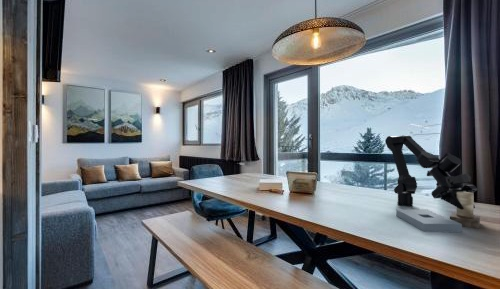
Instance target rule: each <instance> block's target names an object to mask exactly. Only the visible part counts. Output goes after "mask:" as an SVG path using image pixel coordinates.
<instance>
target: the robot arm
mask: <svg viewBox="0 0 500 289" xmlns="http://www.w3.org/2000/svg"><path fill="white" fill-rule="evenodd" d="M384 143H385V144H386V147H387V149H388V150H390V151H391V154H392V157H393V161H394V164H395V166H396V171H397V174H398V177H397V178H398V179H397V181H396V182H397V185H396V187H394V188H393V191H394V193H395V194H397V202H396V203H397V205H398V206H405V207H413V204H414V197H413V196H412V195H415V193H416V190H417V188H418V183H417V179H416V177H415V176H412V175H410V171H409V169H408V166H407V162H406V160H405V157H404V152H403V147H404V146H405V147H406V148H407V149H408V150H409V151H410V152H411V153H412V154H413V155H414V156H415V158H416V161H417V163H418V164H419V165H420V167H421V168H423V169H430V170H427V173H426V176H427V177H432V178H433V179H434V180H435V181H436V186H437V187H436V188H434V189H433V190H432V191H431V197H432V198H433V199H440V200H442V201H445V202H446V203H448V204H449V205H452V206H454V207H455V208H456V209H457V208H459V209H461V210H463V209H464V208H463V206H462V205H461V203H460V202H459V200H458V199H457V195H456V194H457V192H458V191H462V192H470V193H475V192H476V191H477V190H478V189H479V188H477V186H476V185H474V184H468V183H470V182H471V180H472V176H470V174H468V173H463V174H459V175H455V176H454V175H450V174H449V173H452V172H453V171H455V170H456V169H457V168H458V167H459V166H460V165H461V164H462V160H461V158H459V157H458V156H456V155H453V154H451V152H447V153H444V154H443V156H442V157H441V158H439V157H438V156H437V155H436V154H435V155H434V154H433V153H431V152H428V151H427V150H425V149H424V148H423V147H422V146H421V145H420V144H419V143H418V142H417V141H416V140H414V139H413V137H412V136H411V135H406V134H405V135H389V136H387V137H386V138H385V142H384ZM463 184H465V185H464V186H463ZM475 208H476V207H475V205H474V209H475Z"/></svg>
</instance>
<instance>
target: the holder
mask: <svg viewBox="0 0 500 289" xmlns="http://www.w3.org/2000/svg"><path fill="white" fill-rule="evenodd" d="M456 213H457V211H452V212H451V214H450V215H449V219H451V220H453V221H456V222H458V223H460V224H462V227H467V228H473V229H477V230H478V229H480V225H481V215H476V214H475V215H474V217H473V218H464V217H460V216H457V215H456Z"/></svg>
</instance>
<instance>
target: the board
mask: <svg viewBox="0 0 500 289" xmlns="http://www.w3.org/2000/svg"><path fill="white" fill-rule="evenodd" d="M395 214H396V217H397V218H400V219H402V220H403V221H404V222H407V224H408V223H409V224H410V225H412V226H414V227H415V228H417V229H419V230H421V231H422V232H431V233H432V232H437V233H438V232H441V233H445V232H446V233H447V232H449V233H451V232H452V233H455V232H456V233H457V232H458V233H462V232H463V226H462V224H460V223H458V222H456V221H453V220H451V219H450V217H449V218H448V217H446V216H444V215H442V214H440V213H436V212H434V211H432V210H429V209H423V208H422V209H420V208H419V209H406V208H405V209H399V208H398V209H397V208H396V210H395Z"/></svg>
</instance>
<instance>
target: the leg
mask: <svg viewBox="0 0 500 289" xmlns="http://www.w3.org/2000/svg"><path fill="white" fill-rule="evenodd" d="M474 193H475V192H473V193H470V192H462V191H458V192H457V193H456V198H457V199H458V200H459V202H460V203H461V205H462V206H463V208H464V209H463V210H461V209H459V208H457V207H456V215H457V216H460V217H464V218H473V217H474V209H475V208H474V206H475V204H474V202H475V200H474V198H475V197H474Z"/></svg>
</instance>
